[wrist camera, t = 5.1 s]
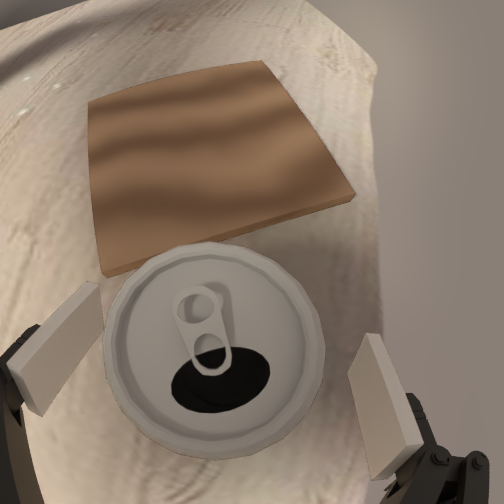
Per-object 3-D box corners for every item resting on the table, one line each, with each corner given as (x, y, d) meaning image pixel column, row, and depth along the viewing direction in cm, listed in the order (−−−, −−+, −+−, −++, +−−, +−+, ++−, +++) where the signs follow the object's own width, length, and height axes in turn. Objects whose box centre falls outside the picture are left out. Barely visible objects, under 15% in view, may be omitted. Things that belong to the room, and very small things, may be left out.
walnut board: (91, 109, 27) (88, 102, 26) (260, 68, 31) (261, 60, 30) (107, 278, 20) (101, 272, 19) (350, 201, 24) (355, 193, 23)
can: (185, 428, 17) (127, 496, 6) (151, 323, 19) (64, 258, 8) (293, 394, 18) (378, 417, 7) (255, 291, 21) (286, 193, 10)
